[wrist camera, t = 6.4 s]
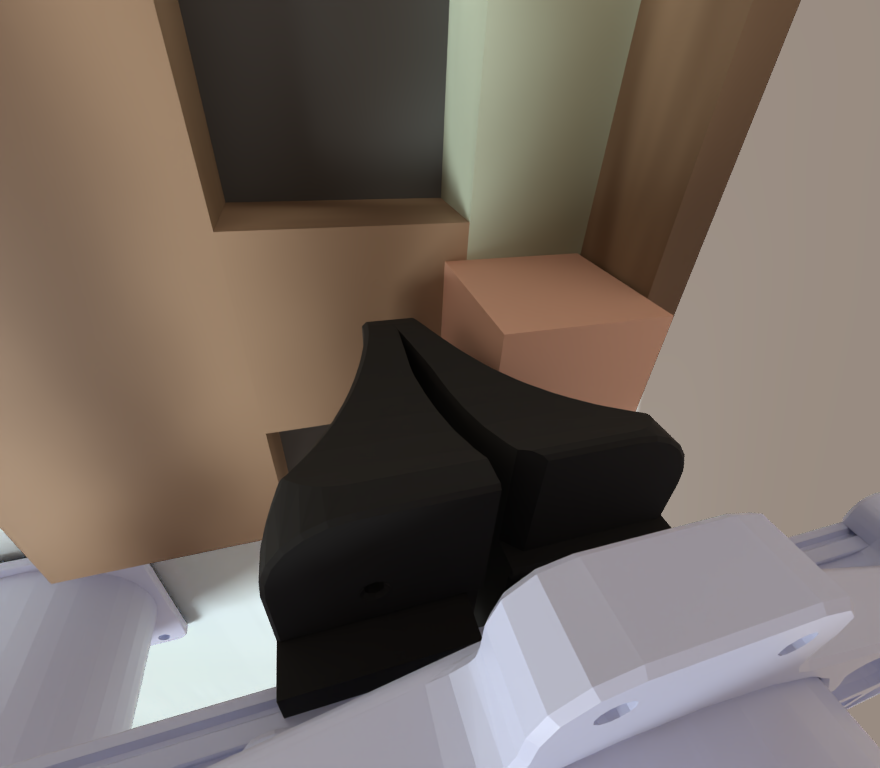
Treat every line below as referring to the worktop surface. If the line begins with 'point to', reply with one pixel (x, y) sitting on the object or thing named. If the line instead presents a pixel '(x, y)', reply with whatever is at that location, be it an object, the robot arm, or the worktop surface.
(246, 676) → the worktop surface
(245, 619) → the worktop surface
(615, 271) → the board
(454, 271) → the block
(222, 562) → the worktop surface
